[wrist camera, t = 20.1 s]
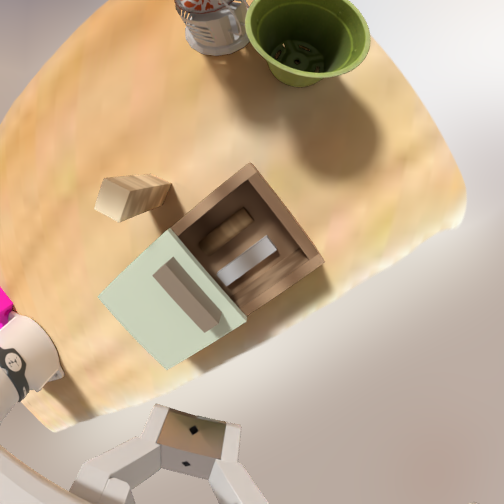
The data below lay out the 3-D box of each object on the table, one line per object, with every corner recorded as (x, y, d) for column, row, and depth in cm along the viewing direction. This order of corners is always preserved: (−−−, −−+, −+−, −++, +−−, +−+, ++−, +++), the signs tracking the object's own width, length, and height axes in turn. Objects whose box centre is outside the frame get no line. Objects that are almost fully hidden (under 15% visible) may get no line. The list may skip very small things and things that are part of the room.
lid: (168, 365, 34) (161, 382, 31) (101, 293, 32) (87, 305, 28) (246, 317, 31) (244, 333, 28) (170, 227, 29) (158, 235, 25)
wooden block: (162, 205, 35) (119, 222, 24) (142, 195, 35) (93, 209, 24) (171, 183, 35) (130, 191, 23) (151, 173, 34) (103, 178, 23)
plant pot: (334, 29, 27) (358, -11, 16) (344, 105, 31) (379, 83, 20) (246, 27, 28) (241, -18, 17) (252, 105, 31) (248, 78, 20)
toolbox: (200, 324, 40) (189, 352, 34) (141, 257, 38) (119, 275, 31) (314, 244, 36) (325, 262, 29) (252, 163, 33) (249, 162, 27)
